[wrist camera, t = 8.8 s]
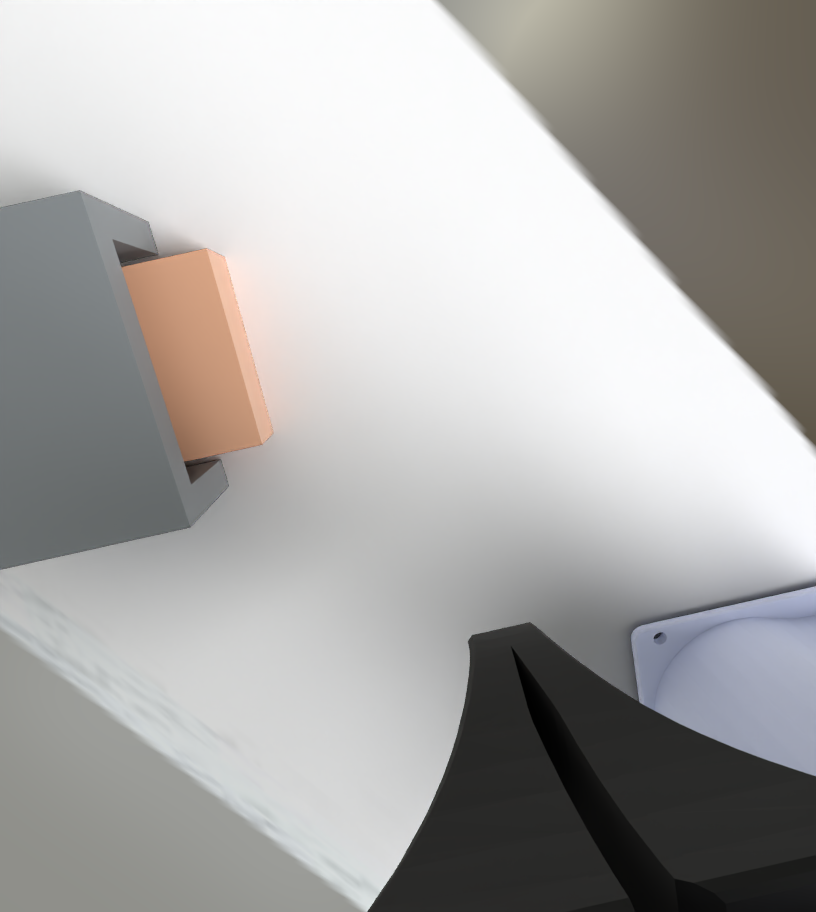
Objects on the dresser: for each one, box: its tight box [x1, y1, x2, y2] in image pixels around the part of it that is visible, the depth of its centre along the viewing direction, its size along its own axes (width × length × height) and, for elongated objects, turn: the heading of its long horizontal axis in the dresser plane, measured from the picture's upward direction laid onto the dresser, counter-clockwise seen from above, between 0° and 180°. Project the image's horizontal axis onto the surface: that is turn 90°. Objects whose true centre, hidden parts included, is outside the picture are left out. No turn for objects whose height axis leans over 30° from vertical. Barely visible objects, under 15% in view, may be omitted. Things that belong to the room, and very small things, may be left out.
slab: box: [121, 248, 273, 462], centre depth 18 cm, size 8×6×2 cm
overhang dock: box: [0, 190, 229, 570], centre depth 17 cm, size 7×9×4 cm
